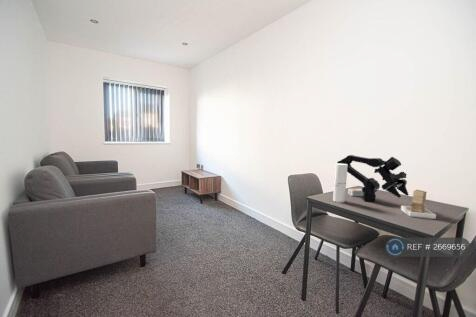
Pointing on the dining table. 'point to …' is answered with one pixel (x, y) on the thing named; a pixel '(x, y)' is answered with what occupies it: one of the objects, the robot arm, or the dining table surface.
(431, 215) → the tray
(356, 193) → the skincare box
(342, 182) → the cylindrical container
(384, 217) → the dining table surface
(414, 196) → the oak block
